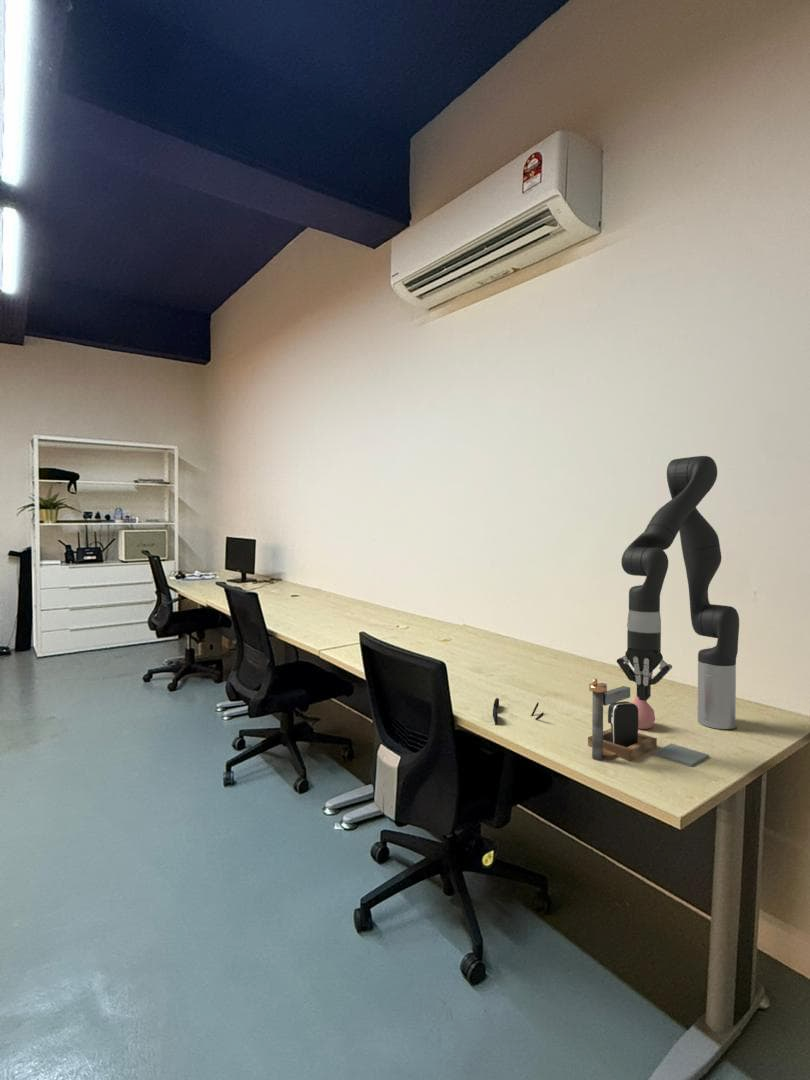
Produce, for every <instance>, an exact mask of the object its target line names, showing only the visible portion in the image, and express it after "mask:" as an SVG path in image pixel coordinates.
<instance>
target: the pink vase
mask: <svg viewBox="0 0 810 1080" xmlns="http://www.w3.org/2000/svg"><path fill="white" fill-rule="evenodd" d="M630 703H633V704H635V705H636V706H637V707H638V730H647V729H652V728H653V726H654V724H655V720H656V717H655V710H654V709H653V707H652V706H651V705H650V703H648V700H647V701H643V700H639V697H637V694H636V695H635V696H634V698H633V700H632V701H631V702H630Z"/></svg>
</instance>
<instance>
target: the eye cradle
mask: <svg viewBox="0 0 810 1080" xmlns="http://www.w3.org/2000/svg"><path fill="white" fill-rule="evenodd" d="M591 708H592V711H591V712H592V718H591V719H592V728H591V729H592V731H591V732H592V735H590V736H587V746H588V747H590V748H591V758H592V759H593V760H594V761H603V760H607V761H610V760H612V759H614V758H619V759H621V760H623V761H627V762H631V761H633V760H635V759H637V758H638V757H641V756H642V755H644V754H647V753H648V752H651V751H653V750H654V749H656V748H657V745H658V743H657V742H658V741H657V740H658V739H657V738H656V737H654V736H651V735H646V734H643V733H640V732H638V743H635V744H633V745H631V746H629V747H624V746H621V745H618V744H615V743H612V742H611V739H612V732H611V728H608V729H606V730H604V705H603V693H598V692H592V707H591Z"/></svg>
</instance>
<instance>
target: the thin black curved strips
mask: <svg viewBox="0 0 810 1080" xmlns="http://www.w3.org/2000/svg"><path fill="white" fill-rule="evenodd" d="M499 706H500V699H499V698H498V697H496V698H495V699H494V702H493V708H492V717H493V718H492V719H493V721H494V725H495V726H498V718H499V717H498V716H499V715H498V708H499ZM538 707H539V701H537V703H536V704H535V706H534V708H533V709H532V710H533V711H532V713H531V714H530V717H533V716H534V715H535V712H536V710H537V709H538ZM544 715H545V713H544V711H543V712H541V713H540V714H539V715H538V716H536V718H534V720H535V721H538V720H539V719H541V718H542V717H544Z"/></svg>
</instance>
